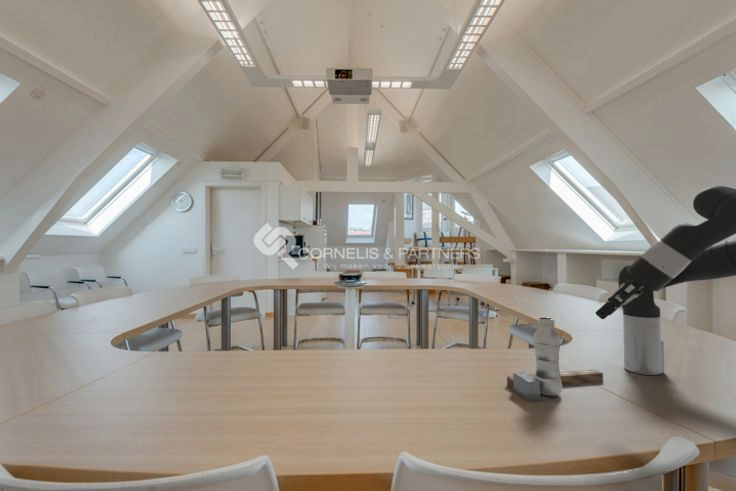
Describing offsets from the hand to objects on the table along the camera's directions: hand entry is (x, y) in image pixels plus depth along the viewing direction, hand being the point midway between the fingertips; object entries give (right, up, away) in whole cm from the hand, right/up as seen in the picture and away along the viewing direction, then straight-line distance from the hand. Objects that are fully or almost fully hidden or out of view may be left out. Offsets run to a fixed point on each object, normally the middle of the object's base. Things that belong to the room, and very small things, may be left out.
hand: (602, 314), depth 86 cm
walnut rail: (-4, -22, +15) cm, 27 cm away
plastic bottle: (-10, -23, +7) cm, 26 cm away
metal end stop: (-16, -23, +7) cm, 28 cm away
